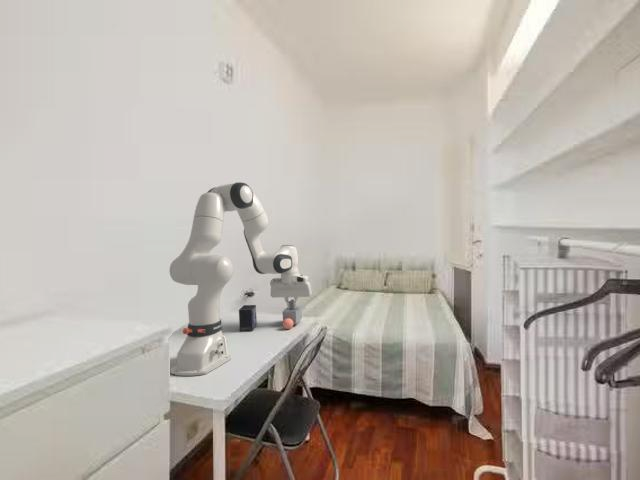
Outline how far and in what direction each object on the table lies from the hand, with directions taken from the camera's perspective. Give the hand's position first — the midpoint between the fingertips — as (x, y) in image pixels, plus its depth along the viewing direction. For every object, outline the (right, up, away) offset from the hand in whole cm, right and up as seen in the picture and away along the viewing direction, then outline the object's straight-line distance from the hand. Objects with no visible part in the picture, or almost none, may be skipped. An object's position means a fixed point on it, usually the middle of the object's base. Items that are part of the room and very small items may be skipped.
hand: (291, 306), depth 179 cm
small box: (-20, -11, -3) cm, 23 cm away
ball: (-1, -7, -8) cm, 10 cm away
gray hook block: (+1, -8, +1) cm, 8 cm away
